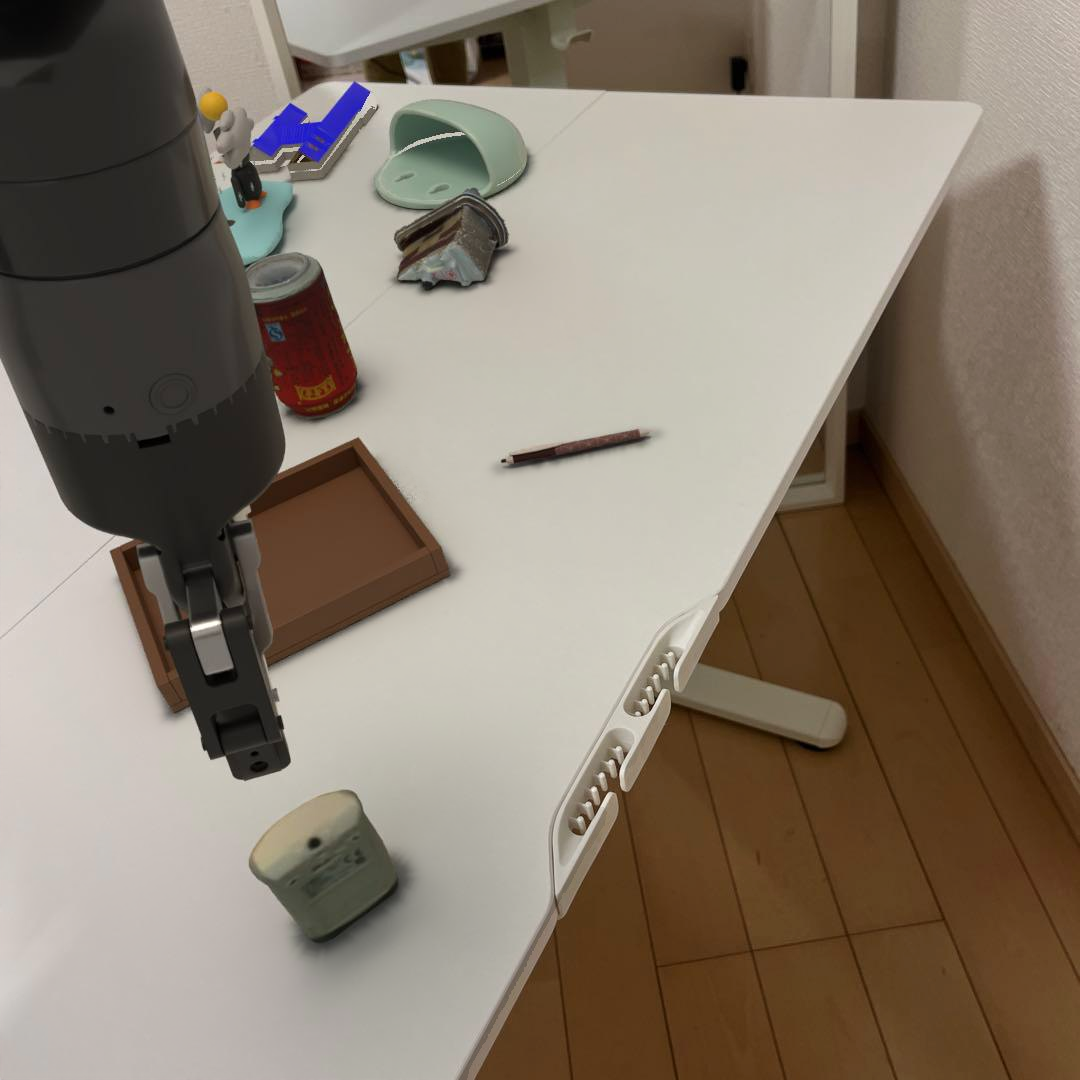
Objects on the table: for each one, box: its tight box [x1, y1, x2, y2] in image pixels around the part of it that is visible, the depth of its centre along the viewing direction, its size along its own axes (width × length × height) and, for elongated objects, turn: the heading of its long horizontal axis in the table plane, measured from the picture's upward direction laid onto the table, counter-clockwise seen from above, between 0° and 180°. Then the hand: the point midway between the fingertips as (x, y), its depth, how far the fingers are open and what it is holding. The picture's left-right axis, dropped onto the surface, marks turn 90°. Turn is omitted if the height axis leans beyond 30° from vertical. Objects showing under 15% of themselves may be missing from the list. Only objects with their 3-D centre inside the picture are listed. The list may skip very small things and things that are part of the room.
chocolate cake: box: [393, 188, 510, 290], centre depth 104 cm, size 10×7×12 cm
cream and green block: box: [248, 789, 399, 943], centre depth 54 cm, size 6×5×8 cm
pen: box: [500, 428, 652, 465], centre depth 81 cm, size 11×1×1 cm, turn 96°
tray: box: [109, 436, 451, 714], centre depth 76 cm, size 20×16×3 cm
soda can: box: [245, 251, 358, 420], centre depth 89 cm, size 7×7×12 cm
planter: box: [373, 98, 528, 210], centre depth 120 cm, size 19×7×16 cm
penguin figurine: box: [195, 86, 294, 266], centre depth 115 cm, size 20×11×15 cm, turn 179°
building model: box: [249, 80, 378, 182], centre depth 135 cm, size 20×11×4 cm, turn 168°
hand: (248, 686), depth 45 cm, fingers open, 8 cm apart
